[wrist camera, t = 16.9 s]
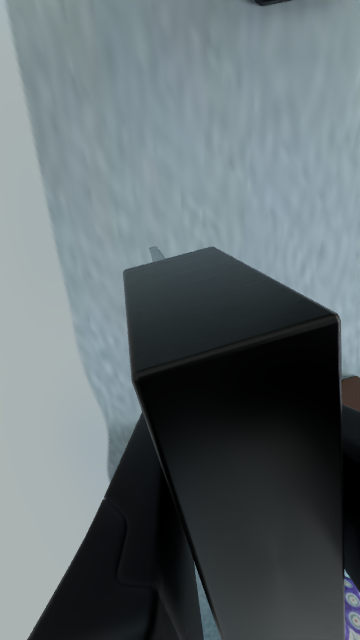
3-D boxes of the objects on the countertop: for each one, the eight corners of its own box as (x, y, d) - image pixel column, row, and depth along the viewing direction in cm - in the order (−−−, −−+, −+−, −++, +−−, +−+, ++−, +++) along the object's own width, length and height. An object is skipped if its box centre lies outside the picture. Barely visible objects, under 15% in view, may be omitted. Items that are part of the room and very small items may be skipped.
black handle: (178, 226, 13) (344, 313, 3) (213, 387, 16) (347, 653, 7) (119, 241, 12) (130, 377, 3) (167, 401, 16) (240, 697, 6)
